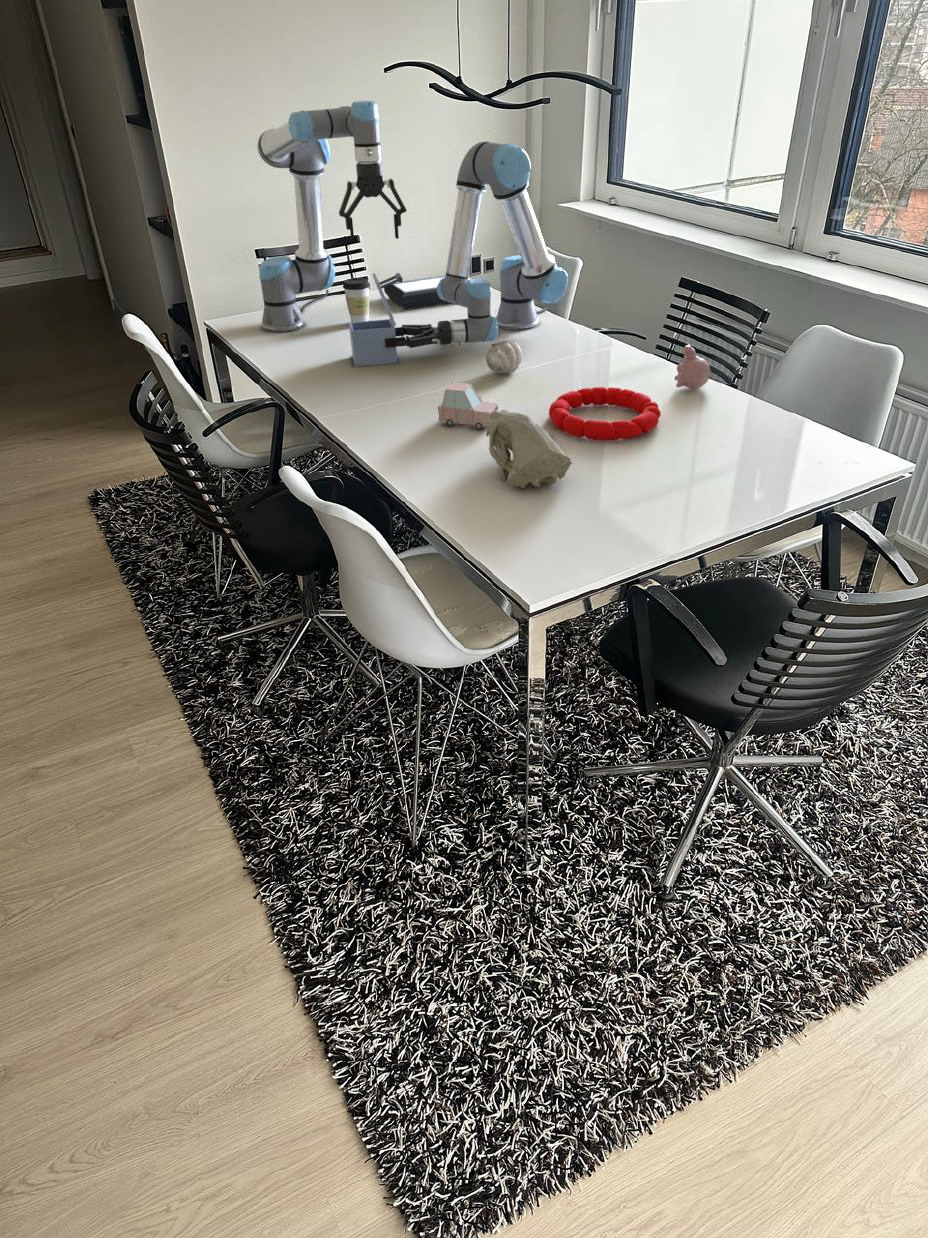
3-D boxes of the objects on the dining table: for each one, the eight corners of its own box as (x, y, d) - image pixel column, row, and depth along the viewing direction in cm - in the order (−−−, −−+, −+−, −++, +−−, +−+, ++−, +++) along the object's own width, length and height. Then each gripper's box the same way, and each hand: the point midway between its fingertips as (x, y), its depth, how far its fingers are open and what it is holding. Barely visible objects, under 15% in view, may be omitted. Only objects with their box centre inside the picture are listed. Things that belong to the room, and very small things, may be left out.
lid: (375, 281, 274) (400, 270, 274) (371, 273, 283) (395, 263, 282) (393, 326, 283) (417, 316, 283) (389, 317, 291) (412, 307, 291)
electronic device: (401, 294, 334) (383, 282, 349) (402, 311, 338) (384, 299, 353) (478, 283, 345) (457, 272, 360) (478, 299, 348) (458, 288, 363)
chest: (355, 366, 288) (351, 331, 281) (352, 356, 296) (348, 322, 290) (397, 362, 290) (395, 327, 283) (393, 352, 298) (391, 318, 292)
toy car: (488, 432, 240) (488, 396, 234) (436, 426, 244) (434, 390, 239) (499, 419, 247) (499, 384, 241) (448, 413, 252) (447, 379, 246)
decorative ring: (589, 435, 224) (684, 402, 234) (527, 398, 247) (617, 369, 256) (589, 461, 229) (683, 427, 238) (529, 422, 251) (617, 393, 260)
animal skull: (496, 517, 219) (521, 479, 201) (463, 429, 225) (484, 384, 207) (557, 503, 225) (586, 465, 206) (523, 417, 231) (549, 373, 212)
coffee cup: (372, 326, 323) (368, 283, 314) (345, 327, 323) (340, 284, 315) (374, 318, 331) (371, 276, 322) (348, 319, 331) (344, 277, 323)
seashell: (476, 372, 280) (475, 340, 274) (517, 363, 285) (517, 332, 280) (493, 381, 272) (492, 349, 266) (534, 372, 278) (534, 340, 272)
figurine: (665, 387, 264) (669, 347, 257) (693, 380, 268) (698, 340, 261) (686, 396, 257) (690, 355, 250) (714, 388, 262) (720, 348, 255)
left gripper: (326, 166, 256) (334, 244, 268) (412, 161, 259) (416, 238, 271) (325, 162, 262) (333, 239, 274) (409, 157, 265) (413, 233, 277)
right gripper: (457, 354, 286) (388, 360, 283) (445, 333, 304) (380, 339, 301) (456, 330, 281) (386, 336, 278) (444, 311, 300) (378, 316, 297)
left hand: (374, 239), depth 272 cm, fingers open, 13 cm apart
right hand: (383, 338), depth 290 cm, fingers closed on chest, 10 cm apart
